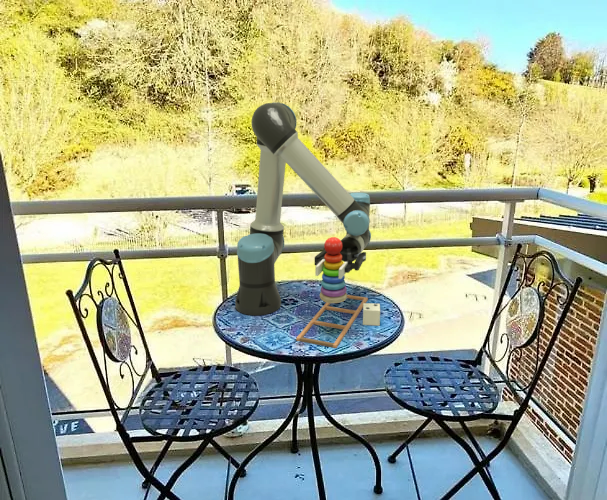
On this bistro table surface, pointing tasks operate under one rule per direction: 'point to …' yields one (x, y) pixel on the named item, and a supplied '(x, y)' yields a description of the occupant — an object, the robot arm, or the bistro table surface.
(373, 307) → the die
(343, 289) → the stacking toy
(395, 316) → the bistro table surface
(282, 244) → the robot arm
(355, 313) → the ladder
